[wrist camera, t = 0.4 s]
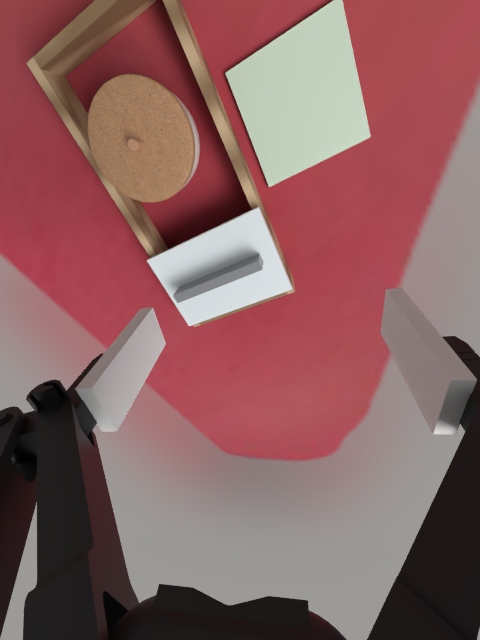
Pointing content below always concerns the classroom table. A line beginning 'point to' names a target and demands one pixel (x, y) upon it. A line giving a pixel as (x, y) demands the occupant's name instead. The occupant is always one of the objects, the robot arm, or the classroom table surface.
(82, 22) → the wooden rectangular frame
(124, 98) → the lidded jar
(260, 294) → the lid
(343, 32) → the mat
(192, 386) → the classroom table surface
